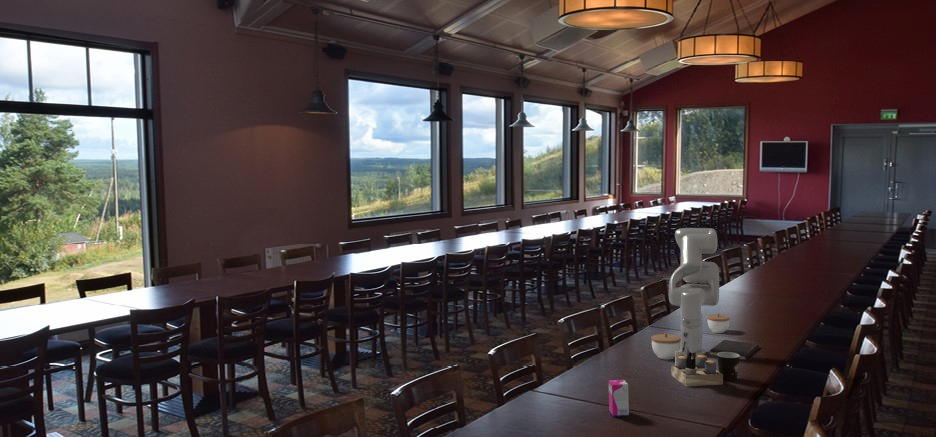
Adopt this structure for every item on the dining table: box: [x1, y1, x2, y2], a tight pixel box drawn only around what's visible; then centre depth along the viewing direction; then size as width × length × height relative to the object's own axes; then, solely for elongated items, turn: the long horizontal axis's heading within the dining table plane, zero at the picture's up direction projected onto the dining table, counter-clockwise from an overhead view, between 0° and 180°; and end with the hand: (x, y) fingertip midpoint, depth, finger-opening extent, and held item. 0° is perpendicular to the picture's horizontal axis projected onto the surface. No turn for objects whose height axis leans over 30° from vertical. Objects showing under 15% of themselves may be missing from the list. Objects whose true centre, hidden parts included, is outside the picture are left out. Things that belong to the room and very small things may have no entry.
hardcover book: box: [708, 339, 760, 361], centre depth 318 cm, size 16×23×2 cm
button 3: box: [696, 354, 708, 369], centre depth 282 cm, size 4×4×5 cm
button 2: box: [685, 368, 696, 376], centre depth 274 cm, size 4×4×5 cm
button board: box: [670, 364, 724, 387], centre depth 278 cm, size 15×15×4 cm
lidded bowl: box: [650, 332, 681, 360], centre depth 311 cm, size 13×13×11 cm
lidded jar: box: [706, 313, 730, 334], centre depth 354 cm, size 11×11×9 cm
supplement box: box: [608, 379, 630, 418], centre depth 242 cm, size 6×6×12 cm
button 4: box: [705, 359, 717, 375], centre depth 274 cm, size 4×4×5 cm
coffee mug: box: [716, 352, 741, 383], centre depth 278 cm, size 12×9×10 cm
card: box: [674, 351, 697, 365], centre depth 288 cm, size 1×9×9 cm, turn 95°
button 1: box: [677, 356, 686, 370], centre depth 281 cm, size 4×4×5 cm
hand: (690, 368), depth 273 cm, fingers closed
